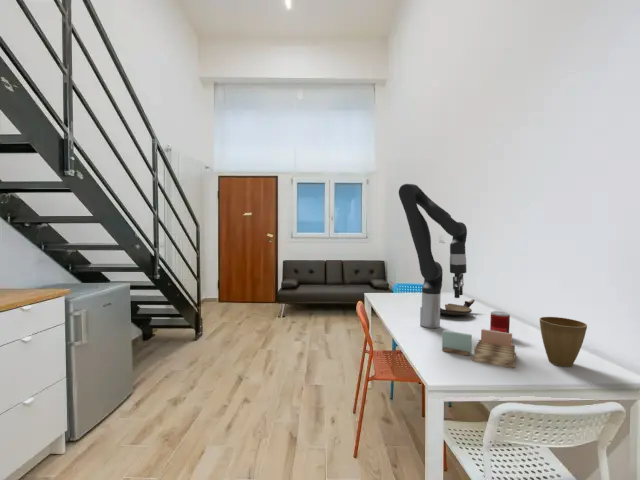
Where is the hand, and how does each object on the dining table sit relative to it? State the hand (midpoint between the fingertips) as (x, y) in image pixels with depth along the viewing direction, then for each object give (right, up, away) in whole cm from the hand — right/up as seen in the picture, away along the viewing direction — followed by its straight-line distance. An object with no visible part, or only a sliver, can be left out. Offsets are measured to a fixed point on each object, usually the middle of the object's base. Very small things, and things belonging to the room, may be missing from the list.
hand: (458, 296), depth 175 cm
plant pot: (+24, -19, -39) cm, 50 cm away
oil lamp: (+12, -17, +36) cm, 41 cm away
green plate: (-12, -18, -28) cm, 36 cm away
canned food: (+17, -18, -6) cm, 25 cm away
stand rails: (-12, -18, -28) cm, 36 cm away
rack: (+1, -19, -35) cm, 39 cm away
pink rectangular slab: (+3, -17, -30) cm, 35 cm away
